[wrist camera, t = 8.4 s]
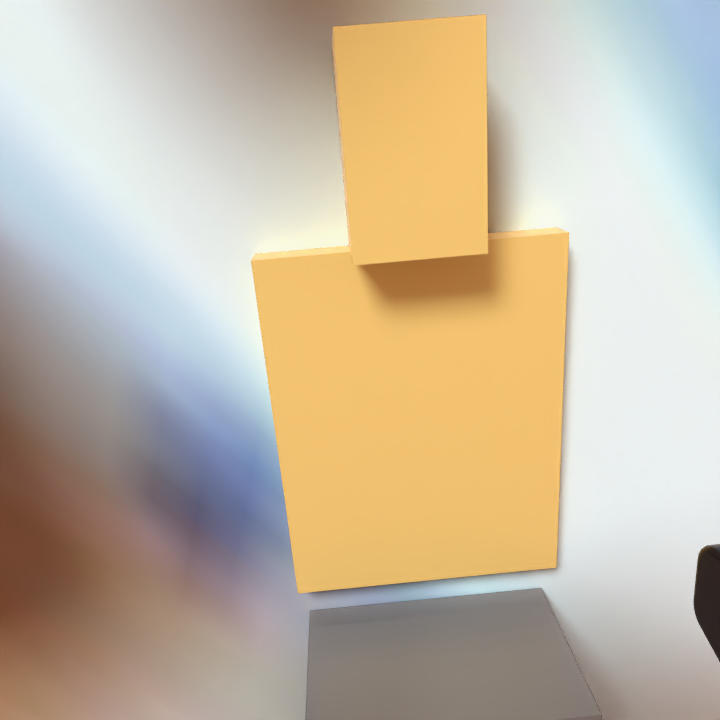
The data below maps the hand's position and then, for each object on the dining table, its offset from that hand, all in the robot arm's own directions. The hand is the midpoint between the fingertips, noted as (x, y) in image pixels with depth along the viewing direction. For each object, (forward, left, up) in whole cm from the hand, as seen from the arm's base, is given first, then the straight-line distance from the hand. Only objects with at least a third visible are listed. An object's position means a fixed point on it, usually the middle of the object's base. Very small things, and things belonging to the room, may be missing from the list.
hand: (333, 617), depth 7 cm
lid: (0, -2, -11) cm, 12 cm away
